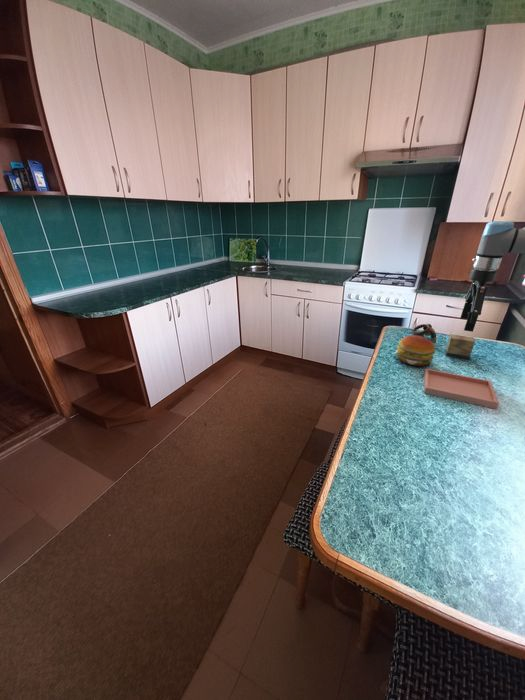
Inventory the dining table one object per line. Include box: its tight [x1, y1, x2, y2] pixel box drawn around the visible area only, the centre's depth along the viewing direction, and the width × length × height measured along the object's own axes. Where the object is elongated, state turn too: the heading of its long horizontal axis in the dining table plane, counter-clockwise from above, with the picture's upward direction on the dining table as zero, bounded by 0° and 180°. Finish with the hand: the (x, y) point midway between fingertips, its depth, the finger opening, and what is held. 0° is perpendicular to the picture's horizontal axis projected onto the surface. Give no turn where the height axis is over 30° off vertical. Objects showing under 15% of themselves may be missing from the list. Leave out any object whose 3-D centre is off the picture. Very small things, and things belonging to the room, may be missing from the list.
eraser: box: [444, 333, 476, 361], centre depth 117 cm, size 8×4×8 cm, turn 63°
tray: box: [423, 368, 500, 410], centre depth 97 cm, size 20×14×2 cm
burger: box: [394, 335, 436, 367], centre depth 113 cm, size 14×14×10 cm
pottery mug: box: [411, 323, 437, 344], centre depth 132 cm, size 12×10×8 cm
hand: (466, 324), depth 112 cm, fingers open, 13 cm apart
